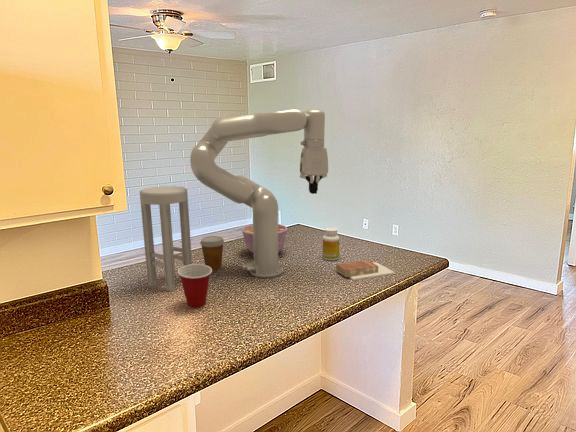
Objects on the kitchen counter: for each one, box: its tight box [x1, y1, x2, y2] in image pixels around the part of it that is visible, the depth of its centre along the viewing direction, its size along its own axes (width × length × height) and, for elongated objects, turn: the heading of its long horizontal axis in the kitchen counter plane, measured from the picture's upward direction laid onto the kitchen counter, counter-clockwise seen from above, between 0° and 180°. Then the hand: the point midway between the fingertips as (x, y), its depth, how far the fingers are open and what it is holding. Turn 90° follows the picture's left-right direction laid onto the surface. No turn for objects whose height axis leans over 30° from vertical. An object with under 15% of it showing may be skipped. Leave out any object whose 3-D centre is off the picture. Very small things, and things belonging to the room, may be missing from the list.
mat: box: [348, 261, 396, 281], centre depth 165 cm, size 18×13×1 cm
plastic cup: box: [177, 263, 213, 308], centre depth 137 cm, size 11×11×12 cm
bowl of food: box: [241, 223, 288, 254], centre depth 188 cm, size 20×20×12 cm
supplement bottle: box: [321, 227, 340, 261], centre depth 181 cm, size 7×7×13 cm
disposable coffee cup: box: [199, 235, 225, 271], centre depth 171 cm, size 10×10×12 cm
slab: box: [335, 259, 378, 278], centre depth 164 cm, size 2×8×14 cm
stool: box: [139, 185, 193, 292], centre depth 152 cm, size 16×16×35 cm
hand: (313, 193), depth 161 cm, fingers closed
